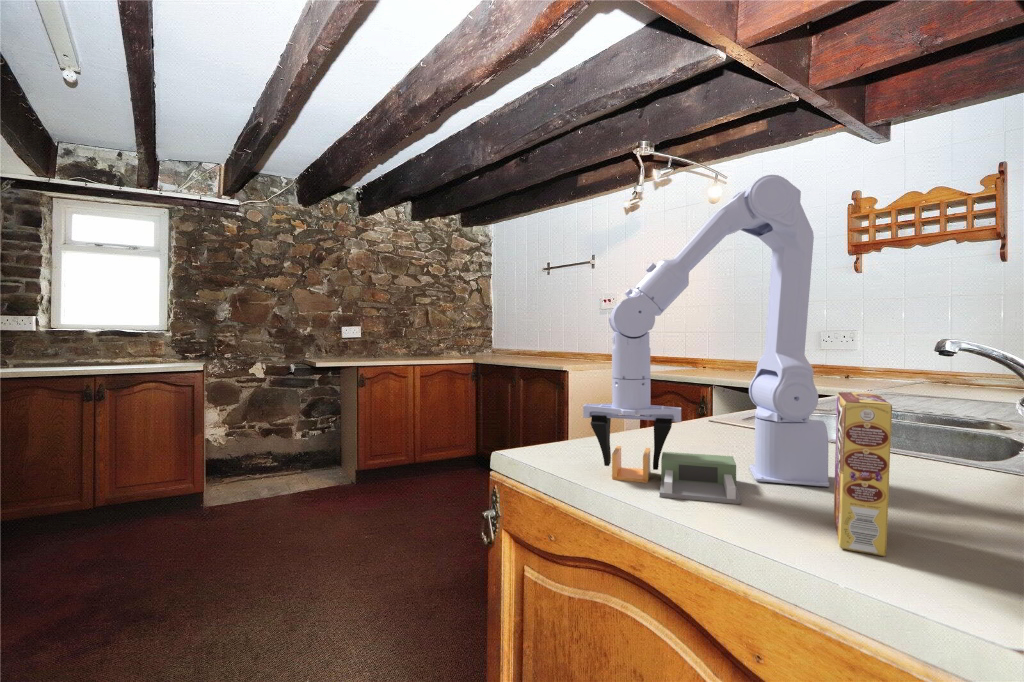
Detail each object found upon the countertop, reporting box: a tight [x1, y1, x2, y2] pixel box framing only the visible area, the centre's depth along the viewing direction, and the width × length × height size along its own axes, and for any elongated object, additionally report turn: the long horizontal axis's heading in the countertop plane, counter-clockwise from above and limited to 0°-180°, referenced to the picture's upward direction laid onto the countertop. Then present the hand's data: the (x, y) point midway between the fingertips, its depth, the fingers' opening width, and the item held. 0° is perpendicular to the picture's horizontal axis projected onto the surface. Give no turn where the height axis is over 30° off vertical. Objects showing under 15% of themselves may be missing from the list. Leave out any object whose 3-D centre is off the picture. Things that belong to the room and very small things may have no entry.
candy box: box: [833, 391, 893, 557], centre depth 55 cm, size 9×4×15 cm, turn 152°
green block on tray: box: [659, 451, 742, 505], centre depth 73 cm, size 10×11×4 cm
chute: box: [611, 445, 651, 483], centre depth 79 cm, size 5×6×4 cm
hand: (631, 466), depth 79 cm, fingers open, 7 cm apart
